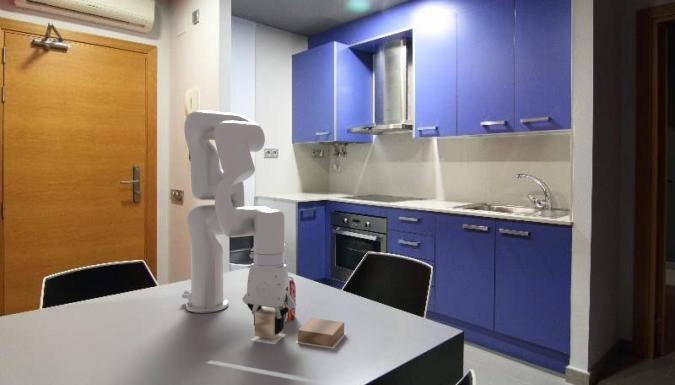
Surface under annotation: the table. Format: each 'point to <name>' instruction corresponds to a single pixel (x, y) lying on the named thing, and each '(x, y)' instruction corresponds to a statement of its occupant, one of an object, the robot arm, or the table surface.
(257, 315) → the maple cube
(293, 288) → the soda can
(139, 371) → the table surface
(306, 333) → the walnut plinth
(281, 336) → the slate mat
